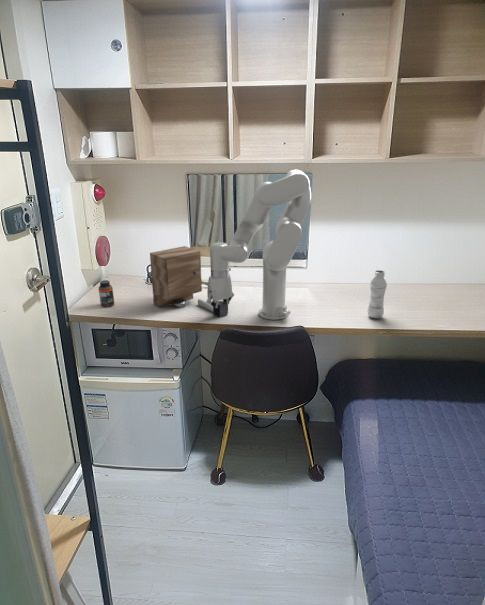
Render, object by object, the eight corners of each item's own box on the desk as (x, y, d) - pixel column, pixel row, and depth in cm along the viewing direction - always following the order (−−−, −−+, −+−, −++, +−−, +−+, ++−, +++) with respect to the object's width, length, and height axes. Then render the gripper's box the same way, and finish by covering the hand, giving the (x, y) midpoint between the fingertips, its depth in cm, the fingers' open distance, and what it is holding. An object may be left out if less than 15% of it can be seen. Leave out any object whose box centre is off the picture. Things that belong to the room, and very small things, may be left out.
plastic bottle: (373, 321, 188) (379, 275, 180) (363, 315, 193) (368, 270, 186) (386, 319, 190) (392, 273, 183) (375, 313, 196) (380, 268, 188)
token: (187, 306, 204) (187, 301, 203) (178, 309, 201) (177, 304, 200) (181, 303, 207) (181, 298, 206) (172, 306, 204) (171, 301, 203)
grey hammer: (227, 315, 194) (227, 303, 192) (220, 317, 191) (219, 305, 190) (202, 303, 207) (202, 292, 205) (195, 305, 204) (194, 294, 202)
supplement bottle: (107, 302, 209) (104, 278, 205) (117, 304, 206) (114, 280, 202) (97, 306, 204) (94, 282, 200) (108, 308, 201) (105, 284, 197)
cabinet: (203, 303, 207) (201, 251, 198) (169, 313, 196) (166, 259, 187) (187, 295, 216) (184, 246, 208) (153, 304, 205) (149, 252, 197)
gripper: (230, 267, 195) (230, 306, 202) (197, 274, 185) (199, 316, 192) (241, 271, 190) (241, 311, 196) (209, 279, 180) (210, 322, 186)
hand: (220, 313), depth 194 cm, fingers closed on grey hammer, 4 cm apart
